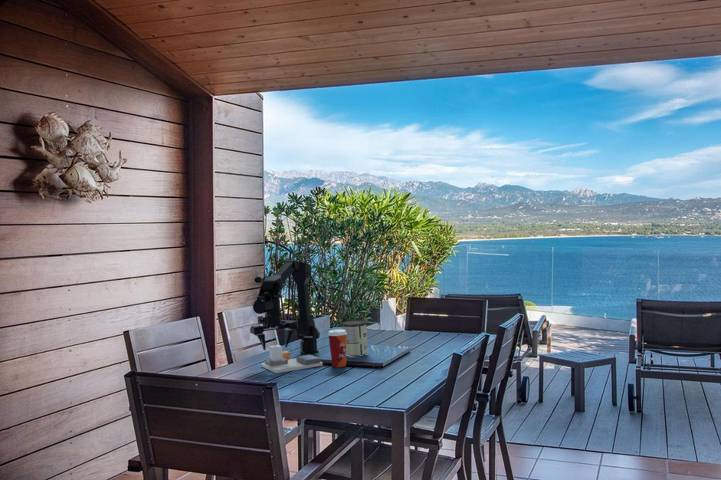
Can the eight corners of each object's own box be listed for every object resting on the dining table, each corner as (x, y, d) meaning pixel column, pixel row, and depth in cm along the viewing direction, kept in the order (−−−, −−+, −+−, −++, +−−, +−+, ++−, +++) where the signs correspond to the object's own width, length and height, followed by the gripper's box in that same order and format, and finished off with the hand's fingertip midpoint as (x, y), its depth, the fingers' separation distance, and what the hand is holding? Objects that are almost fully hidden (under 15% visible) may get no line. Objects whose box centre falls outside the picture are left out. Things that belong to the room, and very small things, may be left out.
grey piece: (310, 359, 279) (309, 354, 279) (320, 362, 270) (319, 358, 270) (296, 361, 276) (296, 356, 276) (306, 365, 268) (306, 360, 267)
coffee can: (345, 353, 294) (343, 320, 293) (369, 352, 293) (367, 319, 292) (342, 358, 284) (340, 324, 283) (367, 357, 283) (365, 323, 282)
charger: (279, 361, 277) (278, 344, 277) (283, 363, 274) (281, 345, 273) (270, 363, 275) (269, 345, 275) (273, 364, 272) (272, 347, 271)
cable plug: (280, 357, 293) (279, 348, 293) (290, 361, 283) (289, 352, 282) (271, 358, 291) (271, 349, 291) (281, 363, 281) (280, 353, 281)
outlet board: (306, 359, 285) (306, 352, 285) (322, 365, 271) (322, 358, 271) (261, 366, 276) (261, 359, 276) (275, 373, 261) (275, 366, 261)
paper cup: (346, 367, 264) (344, 332, 264) (327, 368, 266) (325, 332, 265) (350, 363, 272) (348, 328, 271) (332, 363, 273) (330, 329, 273)
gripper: (287, 306, 285) (289, 342, 286) (244, 311, 276) (246, 349, 277) (297, 308, 275) (299, 346, 276) (253, 313, 266) (255, 353, 267)
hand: (275, 348), depth 274 cm, fingers open, 9 cm apart
